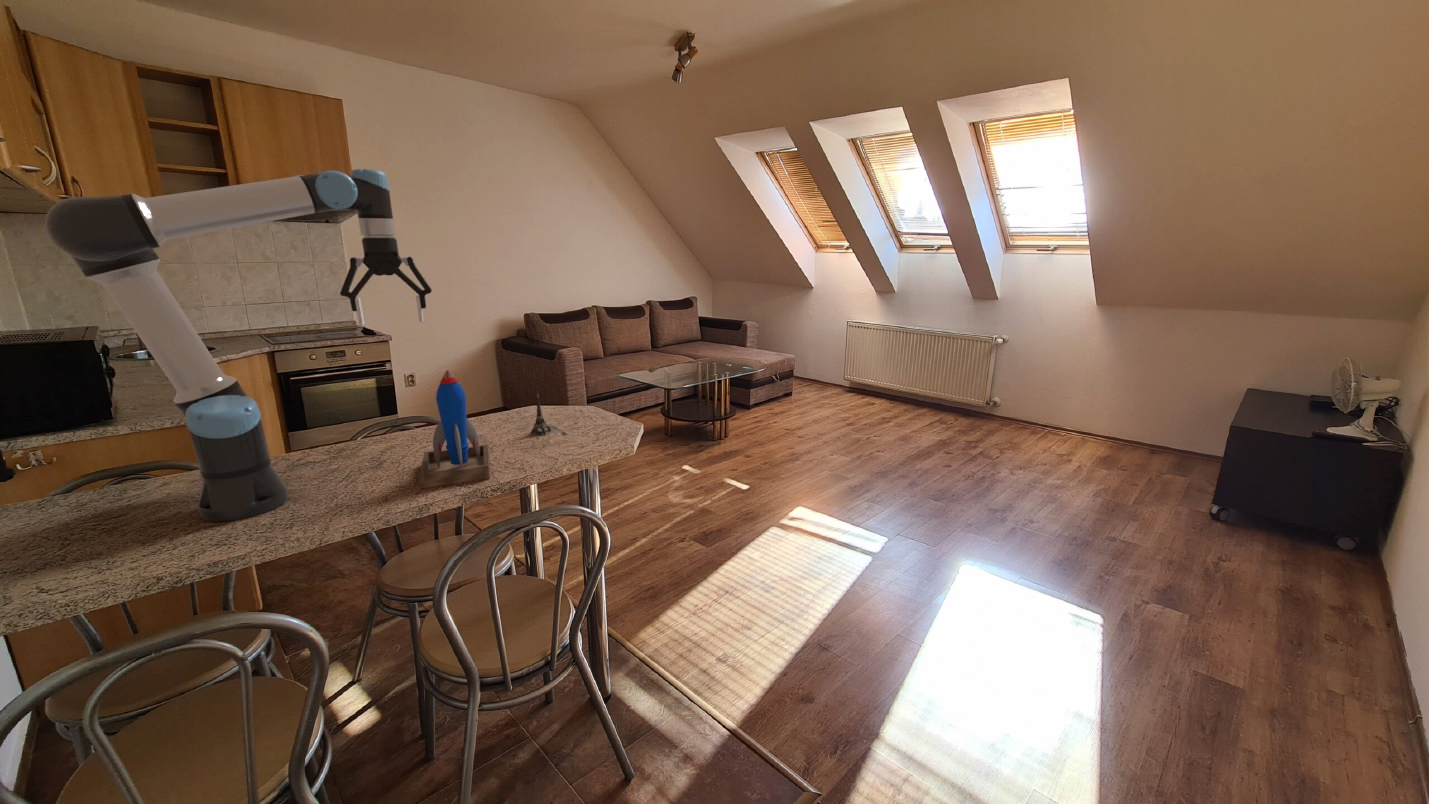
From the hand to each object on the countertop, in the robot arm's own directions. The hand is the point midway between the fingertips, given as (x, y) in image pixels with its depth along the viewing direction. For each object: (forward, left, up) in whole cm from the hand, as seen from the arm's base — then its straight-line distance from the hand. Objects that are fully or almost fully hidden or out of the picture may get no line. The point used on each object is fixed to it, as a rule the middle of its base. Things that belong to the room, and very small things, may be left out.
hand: (392, 323), depth 149 cm
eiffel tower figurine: (+35, +2, -36) cm, 50 cm away
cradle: (+12, -21, -35) cm, 42 cm away
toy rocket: (+12, -21, -34) cm, 42 cm away
